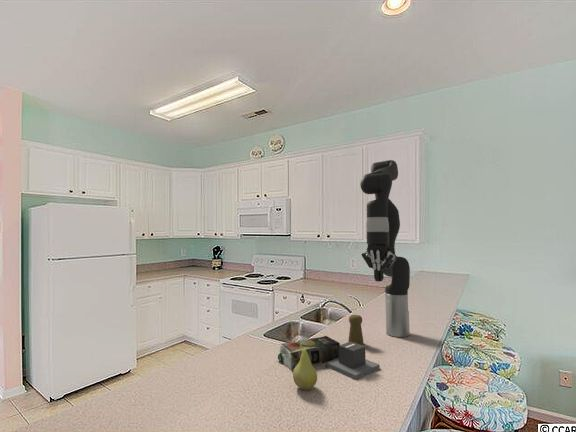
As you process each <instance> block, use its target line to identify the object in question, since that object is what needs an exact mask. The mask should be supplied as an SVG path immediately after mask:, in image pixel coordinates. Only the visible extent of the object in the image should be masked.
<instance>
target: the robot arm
mask: <svg viewBox="0 0 576 432" xmlns="http://www.w3.org/2000/svg"><path fill="white" fill-rule="evenodd" d="M398 176H399V168H398V164H397V162H396V161H395V160H392V159H389V160H383V161H377V162H373V163H372V164H371V167H370V173H367V174H364V175H363V176H362V177H361V179H360V183H359V185H360V190H361V191H362V193H364V194H366V195H374V196H375V197H374V198H375V199H374V200H370V201H368V202H367V203H366V223H365V224H366V225H365V226H366V227H365V228H366V244H367V247H366V251H365V252H363V253H361V257H362V258H363V260H364V262H365V264H366V265H367V266H368V268H370V269H372V270H373V275H374V276H373V278H374V280H375V282H383V280H384V278H385V276H387V277H390V278H391V283H390V284H388V285H386V286H385V288H384V289H385V290H384V293H385V332H386V334H387V335H388V336H392V337H395V338H406V337H409V336H410V311H409V295H408V294H409V288H410V285H411V284H410V280H411V279H410V278H411V276H410V275H411V267H410V263H409V260H408V259H407V258H406V257H404V256H398V255H396V248H395V246H396V245H395V244H396V240H397V237H398V234H399V231H400V228H401V221H400V220H401V219H400V212H399V210H398V207H397V206H396V205H395V204H394V203H393V202H392V200H391V199H390V193H391V191H392V185H393V182H394V181H396V180H397V179H398ZM384 275H385V276H384Z"/></svg>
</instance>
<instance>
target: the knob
mask: <svg viewBox="0 0 576 432" xmlns="http://www.w3.org/2000/svg"><path fill="white" fill-rule="evenodd" d="M366 360H367V359H366V346H365V345H360V344H357V343H354V342H351V341H350V342H348V341H347V342H345V343H342V344H340V345H339V363H341V364H343V365H345V366H348V367H350V368H352V369H355V368H357V367H360V366H362V365H364V364H366Z"/></svg>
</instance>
